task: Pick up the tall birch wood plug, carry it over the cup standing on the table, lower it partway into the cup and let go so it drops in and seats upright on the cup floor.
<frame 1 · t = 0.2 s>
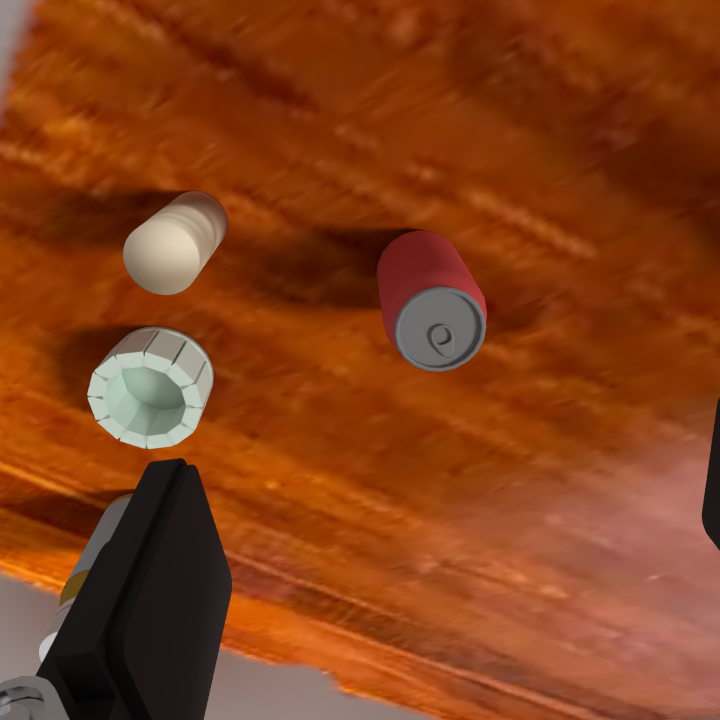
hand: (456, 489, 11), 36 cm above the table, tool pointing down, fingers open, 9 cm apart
beer can: (417, 269, 47), on the table
plug: (198, 220, 44), on the table
cup: (163, 372, 50), on the table
bottle: (145, 516, 57), on the table
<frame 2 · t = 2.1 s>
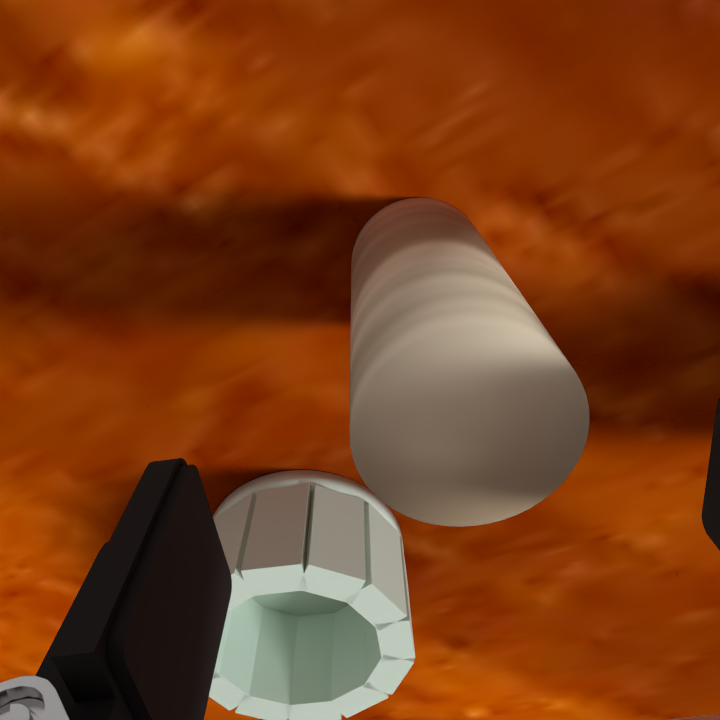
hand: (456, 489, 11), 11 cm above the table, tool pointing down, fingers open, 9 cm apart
plug: (417, 264, 20), on the table
cup: (305, 547, 26), on the table
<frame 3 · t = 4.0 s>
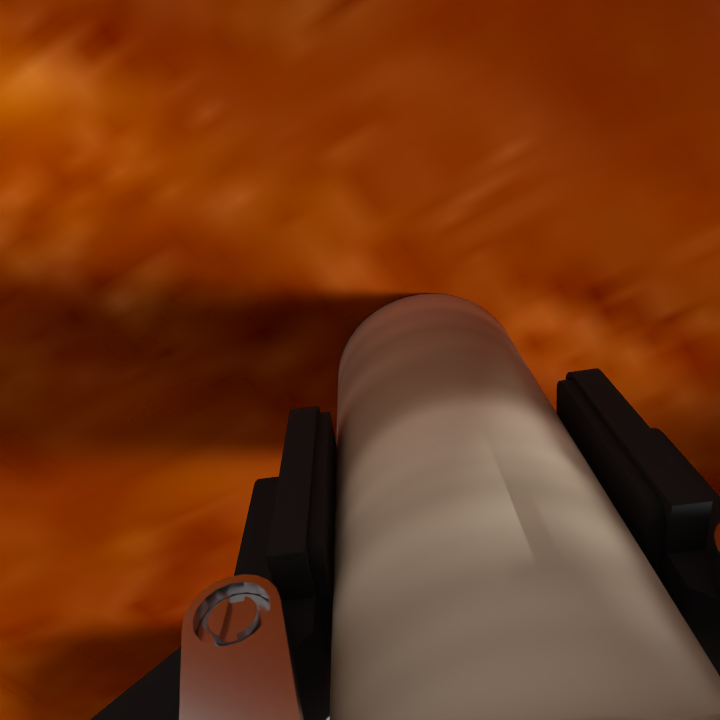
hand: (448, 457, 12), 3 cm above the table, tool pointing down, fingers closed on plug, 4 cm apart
plug: (427, 378, 15), on the table, touching gripper
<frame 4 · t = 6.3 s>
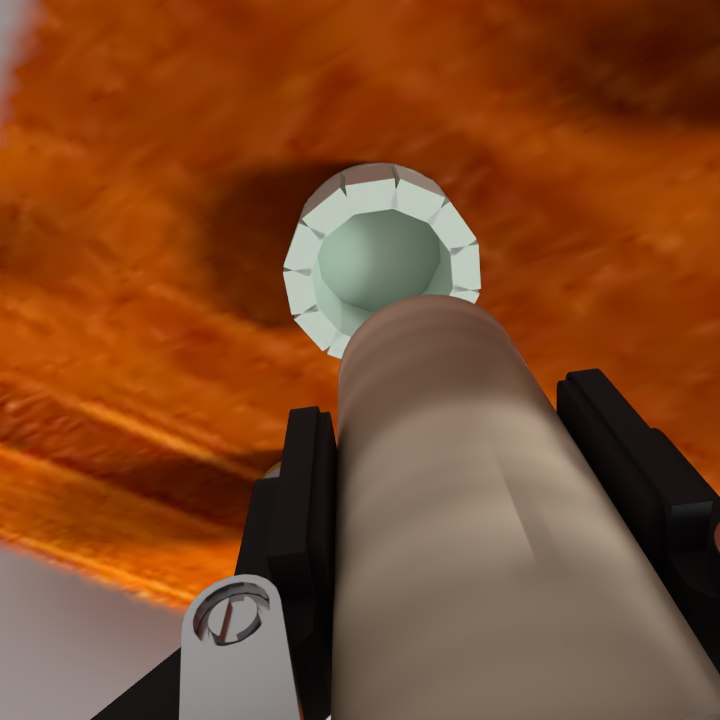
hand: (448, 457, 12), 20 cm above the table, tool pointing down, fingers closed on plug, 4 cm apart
plug: (427, 379, 15), point 17 cm above the table, touching gripper
cup: (377, 248, 30), on the table
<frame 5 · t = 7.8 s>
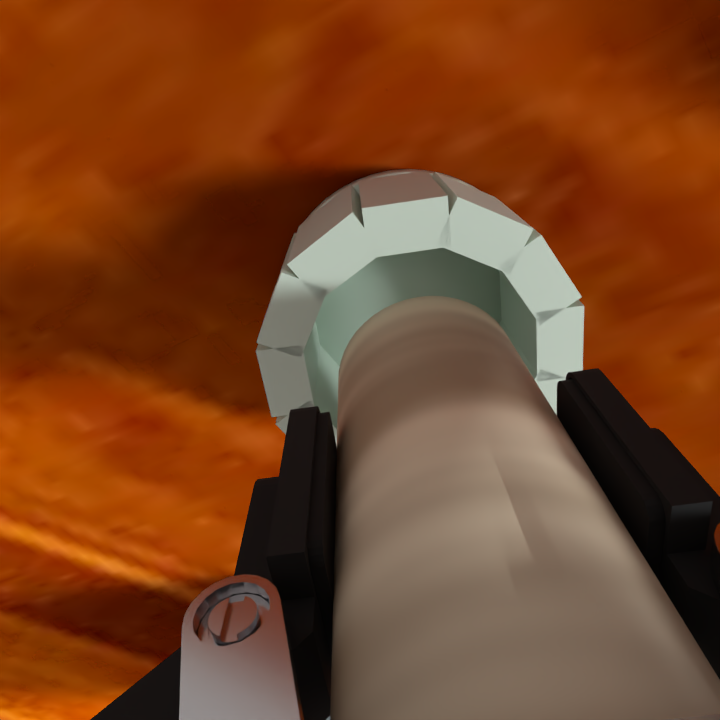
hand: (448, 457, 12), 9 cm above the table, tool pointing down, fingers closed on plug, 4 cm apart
plug: (427, 380, 15), point 6 cm above the table, touching gripper
cup: (404, 298, 20), on the table
when the fingers open (6 cm above the table, at t = 9.1 s): plug drops 1 cm, resting on cup.
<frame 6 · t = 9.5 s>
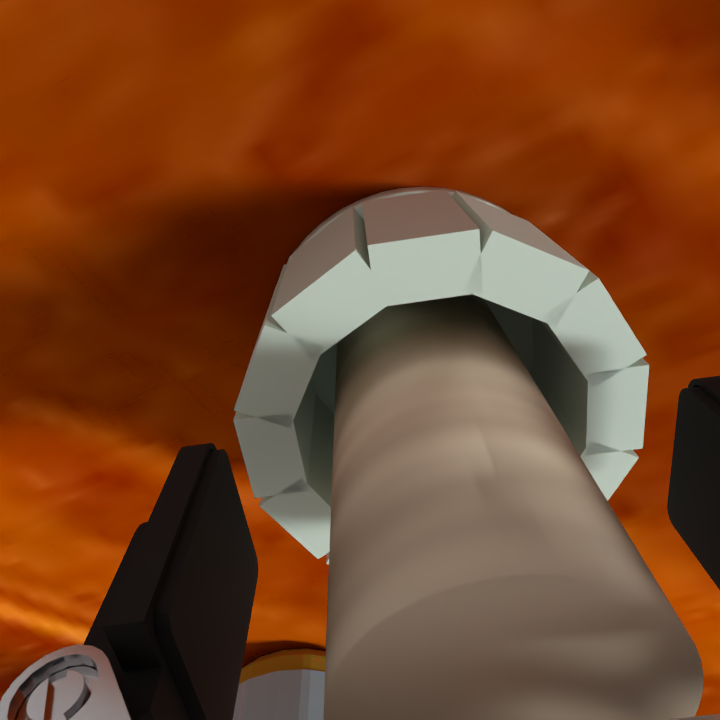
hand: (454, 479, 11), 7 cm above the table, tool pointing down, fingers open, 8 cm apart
plug: (418, 352, 16), point 1 cm above the table, touching cup
cup: (416, 338, 17), on the table
bottle: (304, 695, 24), on the table
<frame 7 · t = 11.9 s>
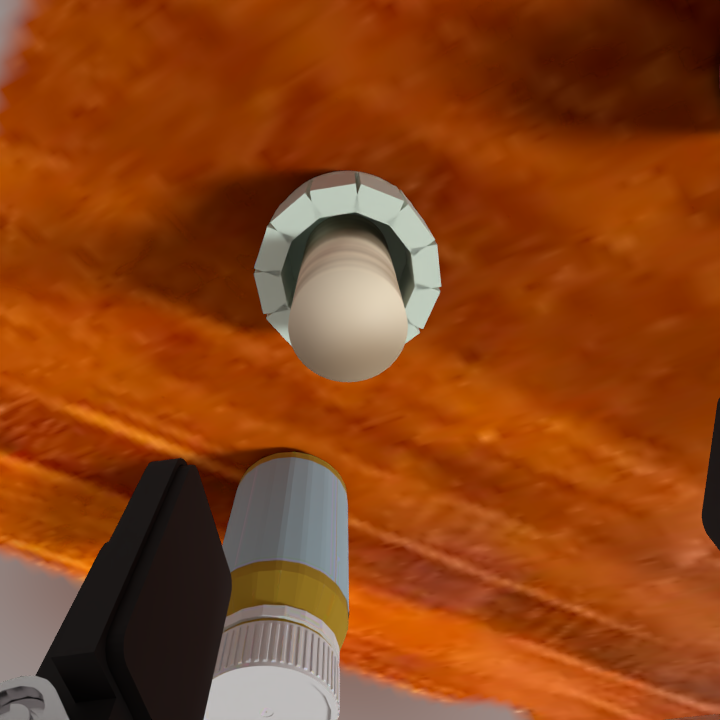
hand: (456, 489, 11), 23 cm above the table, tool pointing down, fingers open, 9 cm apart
plug: (346, 256, 31), point 1 cm above the table, touching cup
cup: (347, 252, 32), on the table
bottle: (293, 489, 39), on the table
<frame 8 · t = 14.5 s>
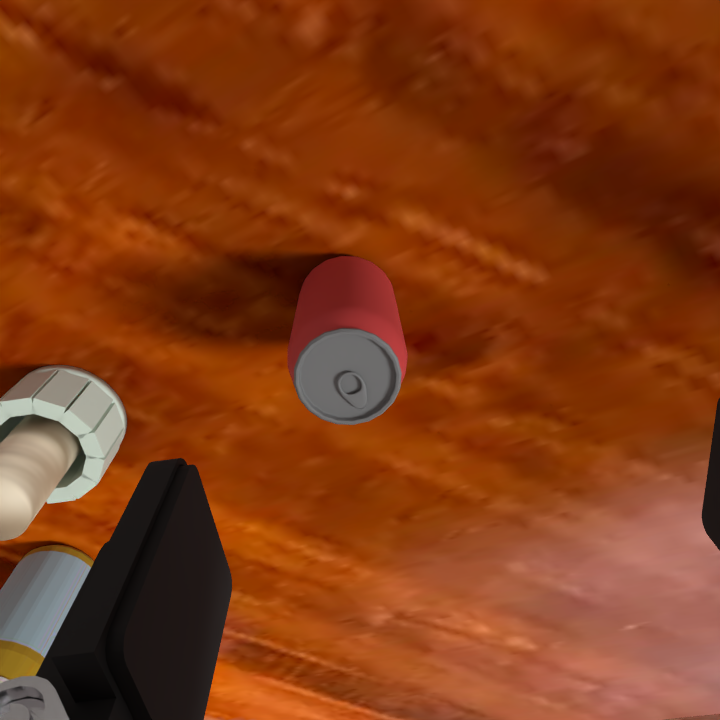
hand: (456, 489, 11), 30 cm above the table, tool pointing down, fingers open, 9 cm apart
beer can: (347, 298, 41), on the table
plug: (63, 421, 44), point 1 cm above the table, touching cup
cup: (70, 414, 45), on the table
bottle: (64, 569, 52), on the table
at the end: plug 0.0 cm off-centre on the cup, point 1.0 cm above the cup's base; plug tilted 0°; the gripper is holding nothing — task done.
